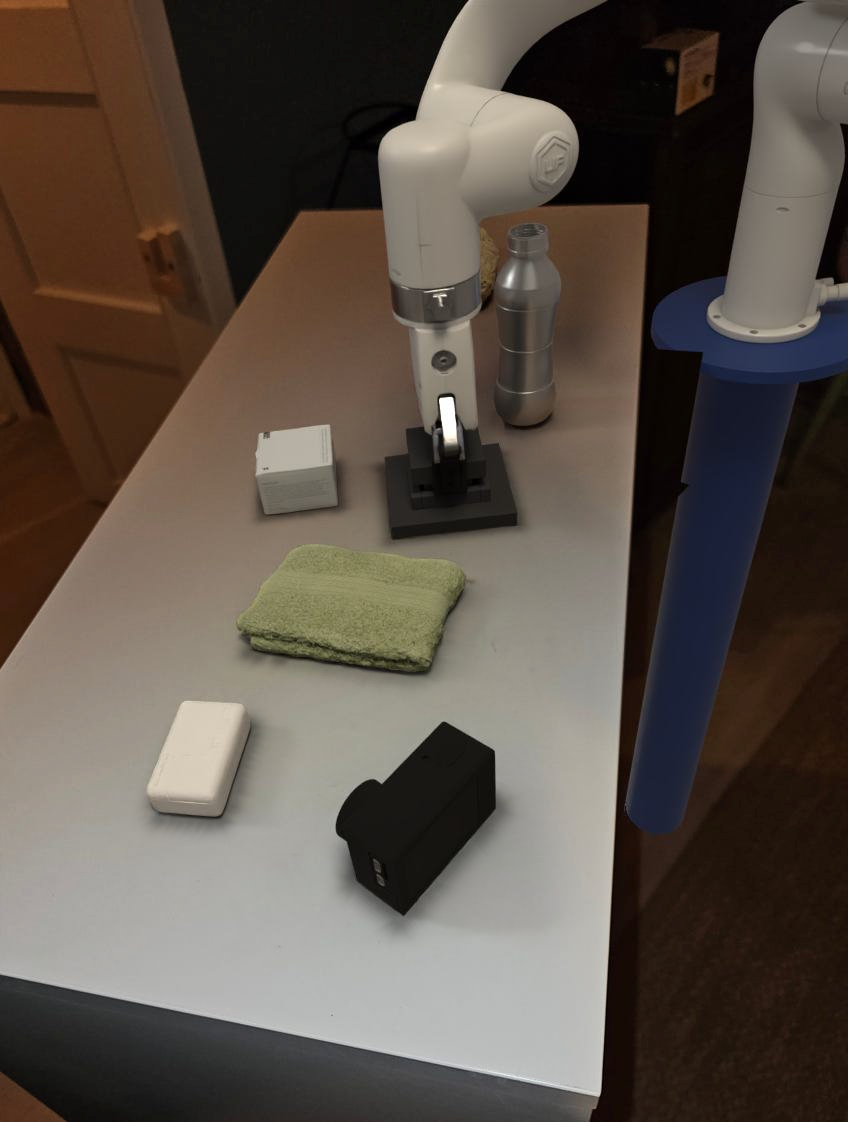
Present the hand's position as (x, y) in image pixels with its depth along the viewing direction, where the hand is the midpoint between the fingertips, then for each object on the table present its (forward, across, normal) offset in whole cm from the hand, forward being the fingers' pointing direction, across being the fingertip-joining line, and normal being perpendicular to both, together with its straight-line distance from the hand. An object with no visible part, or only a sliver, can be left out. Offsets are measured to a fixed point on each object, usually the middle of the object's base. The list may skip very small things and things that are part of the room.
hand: (446, 468), depth 84 cm
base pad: (+3, 0, 0) cm, 3 cm away
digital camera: (+3, -39, +6) cm, 40 cm away
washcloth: (+3, -16, +10) cm, 19 cm away
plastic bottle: (+3, +12, -10) cm, 16 cm away
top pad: (+1, 0, 0) cm, 1 cm away
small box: (+3, +4, +15) cm, 16 cm away
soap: (+3, -31, +22) cm, 38 cm away
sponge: (+3, +49, -6) cm, 49 cm away
